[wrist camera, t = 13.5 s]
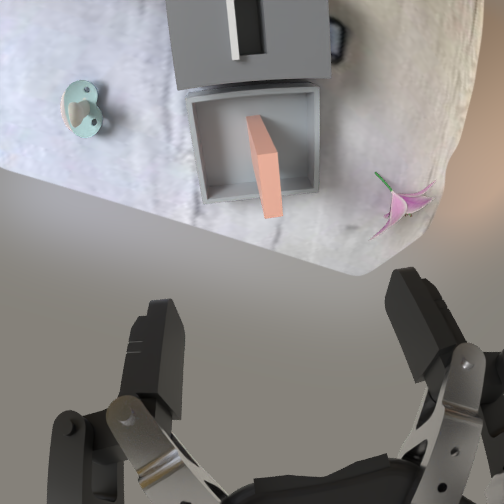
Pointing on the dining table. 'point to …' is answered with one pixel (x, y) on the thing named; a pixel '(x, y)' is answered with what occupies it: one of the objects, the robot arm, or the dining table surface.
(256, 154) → the tall pink plank
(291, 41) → the dispenser
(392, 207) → the lily
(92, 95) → the pacifier
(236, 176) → the bin
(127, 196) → the dining table surface
